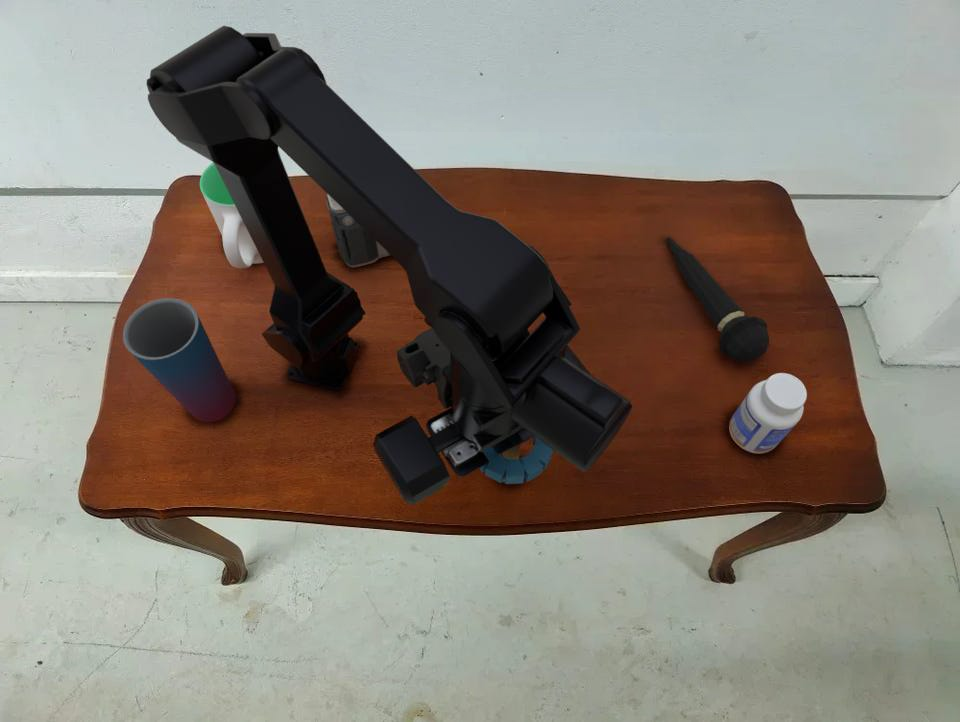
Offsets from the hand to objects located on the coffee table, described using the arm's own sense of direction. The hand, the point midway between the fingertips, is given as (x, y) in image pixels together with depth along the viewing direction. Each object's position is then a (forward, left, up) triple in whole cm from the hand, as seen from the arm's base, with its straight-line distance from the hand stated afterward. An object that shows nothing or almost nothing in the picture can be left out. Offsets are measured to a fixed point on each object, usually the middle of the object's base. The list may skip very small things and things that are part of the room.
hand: (485, 455), depth 66 cm
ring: (+2, +2, -1) cm, 3 cm away
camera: (-20, +28, -8) cm, 35 cm away
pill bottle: (+27, +14, -8) cm, 31 cm away
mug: (-35, +23, -8) cm, 43 cm away
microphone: (+21, +30, -8) cm, 37 cm away
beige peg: (+2, +2, -8) cm, 9 cm away
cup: (-31, +2, -8) cm, 33 cm away
